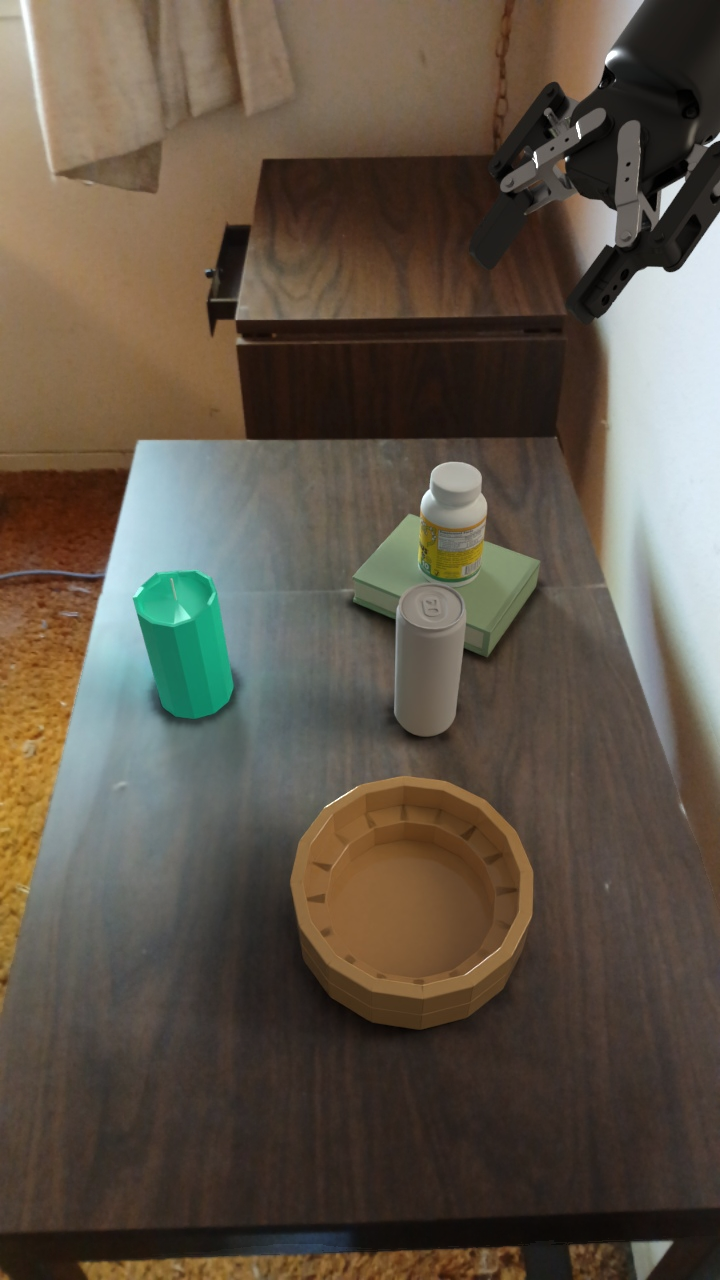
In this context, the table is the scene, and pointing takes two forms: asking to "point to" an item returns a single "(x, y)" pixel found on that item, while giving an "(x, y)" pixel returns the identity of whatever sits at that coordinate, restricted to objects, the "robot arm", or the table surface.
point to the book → (485, 597)
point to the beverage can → (428, 657)
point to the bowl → (411, 901)
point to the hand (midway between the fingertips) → (524, 287)
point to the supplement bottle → (452, 525)
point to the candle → (185, 642)
